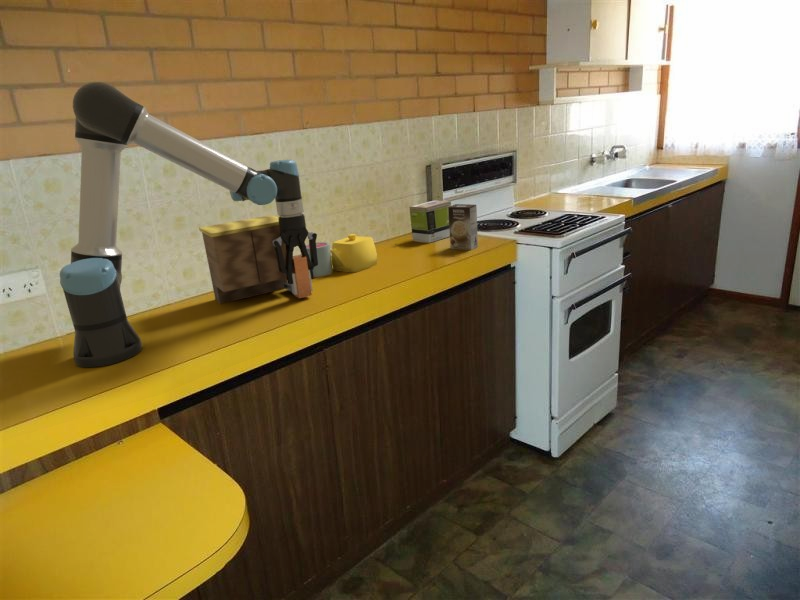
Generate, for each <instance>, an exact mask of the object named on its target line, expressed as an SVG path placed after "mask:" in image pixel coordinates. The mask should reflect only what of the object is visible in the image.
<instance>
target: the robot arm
mask: <svg viewBox="0 0 800 600" xmlns="http://www.w3.org/2000/svg"><path fill="white" fill-rule="evenodd" d="M72 109H73V113H74V116H75V125H74V126H75V127H74V129H75V130H74V132H75V133H74V139H75V140H76V142H77V143H78V144H79V145H80V146H81V156H80V157H81V158H80V159H81V161H80V163H81V165H80V184H79V185H80V186H79V187H80V190H79V213H78V215H79V217H78V218H79V220H78V241H77V243H76V245H74V246H73V247H72V248H71V250H70V264H67V265H64V267H62V268H61V270H60V271H59V278H60V279H59V283H60V287H61V288H62V291H63V293H64V298H65V300H66V304H67V307H68V311H69V315H70V318H71V323H72V325H73V328H74V343H73V353H72V354H73V355H72V356H73V359H74V363H75V365H76V366H78V367H81V368H98V367H99V368H100V367H104V366H110V365H113V364H116V363H117V364H118V363H120V362H124V361H125V360H128V359H130V358H132V357H134V356H136V355H137V354H139V353H140V352H141V351H142V350H143V344H142V341H141V338H140V336H139V335H138V333H137V332H136V331H135V329H134V328H133V326H132V325H131V323H130V322H129V320H128V316H127V313H126V310H125V305H124V300H123V297H122V293H121V284H122V280H123V275H122V264H123V251H122V250H121V249H120V248H119V247H117V234H118V233H117V232H118V231H117V230H118V218H119V217H118V215H119V213H118V212H119V197H120V196H119V193H120V173H121V171H120V170H121V156H122V155H121V153H122V151H124V150H125V149H126V148H128V145H132V144H135V145H137V146H139V147H140V148H143V149H145V150H147V151H149V152H151V153H153V154H156V155H158V156H159V157H161V158H163V159H165V160H168V161H170V162H171V163H174V164H176V165H177V166H180V167H181V168H184V169H186V170H188V171H190V172H192V173H193V174H196V175H198V176H200V177H202V178H204V179H207V180H208V181H210V182H213V183H214V184H216V185H218V186H220V187H222V188H224V189H226V190H229V193H230V197H231V200H233V202H245V201H250V202H252V203H253V204H255V205H258V206H266V205H269V204H271V203H272V202H274V200H275V204H276V213H277V216H278V217H279V218H278V220H279V226H280V236H279V238H277V239H276V240H272V244H273V246H274V247H275V251H276V256H277V261H278V267H279V271H280V272H282V273H286V275H287V282H288V284H291V288H292V292H291V293H292V294H293V295H294V294H295V295H298V291H297V285H296V278H295V273H293V272H292V262H293V256H294V248H295V247H298V248H299V252H300V253H301V254H302V255H303V256H306V258H307V265H308V272H309V279H310V286H311V292H313V290H314V289H313V284H312V283H313V282H312V280H314V278H315V277H314V276H313V269H314V267H315V266H317V265H318V258H317V249H316V242H317V238H318V237H317V236H318V234H317V233H315V232H309V231H308V229H307V224H306V216H305V214H304V205H303V198H302V191H301V184H300V183H301V182H300V174H299V170H298V169H299V168H298V164H297V162H296V161H295V160H294V159H282V160H281V159H280V160H273V161H270V163H269V168H268V169H264V170H256V169H254V168H251V167H249V166H248V165H246V164H244V163H242V162H240V161H239V160H237V159H235V158H233V157H231V156H229V155H227V154H226V153H223V152H222V151H220V150H218V149H216V148H214V147H212V146H210V145H208V144H206V143H204V142H203V141H200V140H199V139H198V138H195V137H193V136H191V135H189V134H187V133H185V132H184V131H182V130H180V129H178V128H176V127H174V126H172V125H170V124H168V123H167V122H164V121H163V120H161V119H159V118H157V117H155V116H154V115H151V114H150V113H148V111H147V107H145V106H143V105H142V104H140V103H138V102H136V101H134V100H133V99H131V98H130V97H128V96H127V95H125V93H122V92H121V91H120V90H119V89H118V88H116V87H115V86H113V85H111V84H109V83H106V82H101V81H92V82H88V83H85V84H83V85H82V86H80V87H79V88H78V89H77V91H76V92H75V93H74V96H73V98H72ZM307 239H308V244H309V247H310V256H311V260H310V258H309V255H308V252H307V249H306V243H305V242H306V240H307ZM281 241H283V242H284V243H285V244H286V266H285V263H284V258H283V253H282V248H281V244H282V243H281ZM301 254H300V255H301Z"/></svg>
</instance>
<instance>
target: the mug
mask: <svg viewBox="0 0 800 600" xmlns="http://www.w3.org/2000/svg"><path fill="white" fill-rule="evenodd" d="M305 245H306V249H307V252H308V255H309V258H310V260H311V256H310V247H309V243H305ZM316 249H317V258H318V265H317V266H315V267H314V269H313V276H314V278H316V277H317V278H318V277H325V276H329V275H331V274H333V272H334V268H333V265H332V253H331V252H330V250H331V247H330V243H329V242H326V241H318V242H317V241H316ZM300 255H302V254H300Z"/></svg>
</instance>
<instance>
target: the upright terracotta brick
mask: <svg viewBox="0 0 800 600" xmlns="http://www.w3.org/2000/svg"><path fill="white" fill-rule="evenodd" d="M292 272H293V273H295V278H296V285H297V291H298V295H295V294H293V295H294V297H296V298H298V299H302V298H307V297H310V296H313V295H312V294H313V293H312V291H311V286H310V279H309V272H308V265H307V258H306V256H303V255H301V254H297V255H293V262H292ZM284 288H285V290H287V291H289V292H290V293H292V288H291V284H288V282H286V283H284Z"/></svg>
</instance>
